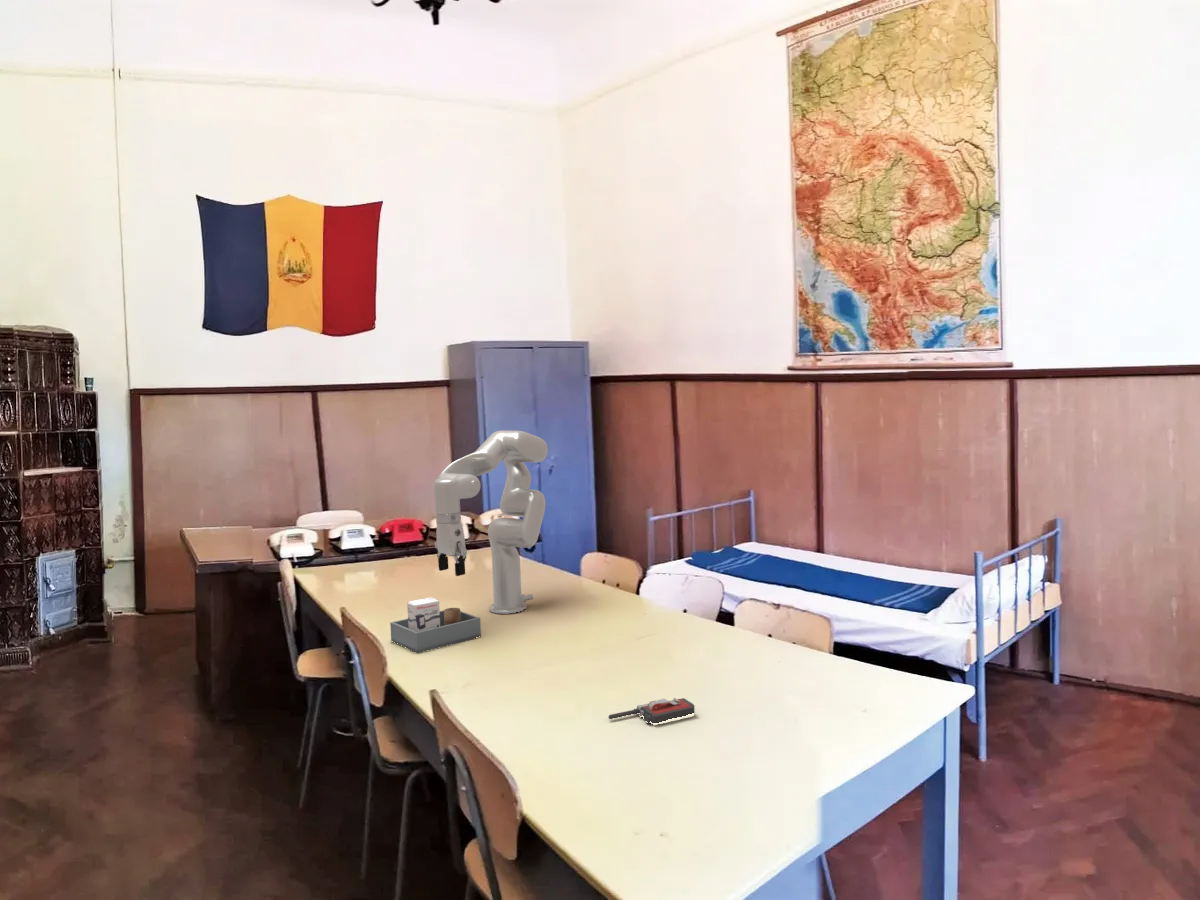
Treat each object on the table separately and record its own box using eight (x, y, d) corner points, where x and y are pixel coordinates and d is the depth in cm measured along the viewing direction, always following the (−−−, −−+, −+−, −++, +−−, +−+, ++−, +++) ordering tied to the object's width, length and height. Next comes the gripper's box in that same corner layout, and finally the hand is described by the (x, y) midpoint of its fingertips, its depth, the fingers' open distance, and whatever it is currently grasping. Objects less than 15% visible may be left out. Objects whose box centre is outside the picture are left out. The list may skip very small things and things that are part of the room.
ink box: (415, 643, 260) (413, 604, 259) (408, 639, 264) (406, 601, 263) (441, 638, 265) (439, 600, 264) (434, 634, 269) (432, 596, 268)
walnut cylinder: (455, 628, 274) (454, 606, 274) (464, 631, 270) (463, 609, 270) (441, 632, 271) (440, 610, 270) (450, 635, 267) (449, 613, 267)
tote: (453, 626, 280) (452, 608, 280) (481, 637, 268) (480, 617, 268) (391, 641, 266) (390, 622, 265) (417, 653, 254) (416, 633, 253)
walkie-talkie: (681, 705, 210) (606, 721, 202) (680, 687, 210) (606, 702, 201) (700, 717, 202) (624, 735, 194) (700, 699, 202) (623, 715, 193)
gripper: (474, 519, 264) (477, 574, 266) (444, 512, 277) (447, 565, 279) (452, 523, 259) (456, 579, 261) (423, 516, 272) (427, 570, 274)
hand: (452, 572), depth 270 cm, fingers open, 9 cm apart
